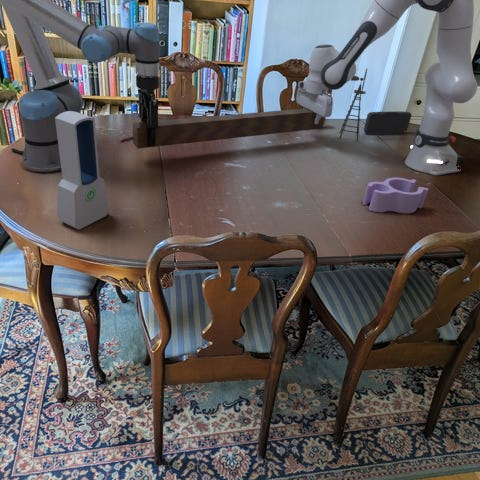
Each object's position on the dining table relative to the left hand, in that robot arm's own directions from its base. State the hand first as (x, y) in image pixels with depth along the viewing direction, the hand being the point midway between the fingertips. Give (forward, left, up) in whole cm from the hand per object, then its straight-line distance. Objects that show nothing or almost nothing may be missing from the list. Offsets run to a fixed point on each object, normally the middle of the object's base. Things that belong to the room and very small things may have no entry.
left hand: (148, 142), depth 165 cm
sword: (-5, +26, -7) cm, 27 cm away
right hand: (+57, +41, +2) cm, 71 cm away
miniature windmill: (+76, +56, -7) cm, 94 cm away
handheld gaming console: (+94, +68, -7) cm, 116 cm away
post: (+29, +21, -1) cm, 35 cm away
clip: (+86, -7, -7) cm, 87 cm away
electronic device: (-6, -43, -7) cm, 45 cm away
